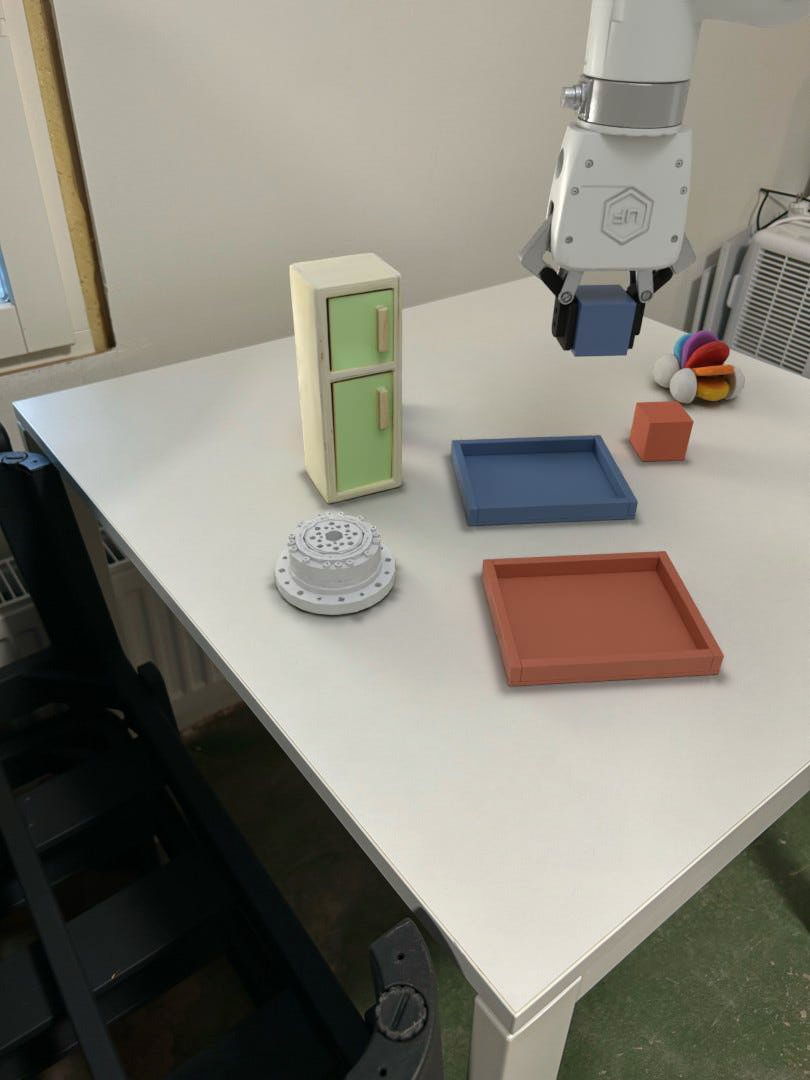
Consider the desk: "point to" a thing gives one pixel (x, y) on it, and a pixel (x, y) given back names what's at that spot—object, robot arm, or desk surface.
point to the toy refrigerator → (349, 372)
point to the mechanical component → (335, 565)
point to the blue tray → (540, 480)
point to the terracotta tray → (596, 619)
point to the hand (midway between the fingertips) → (593, 341)
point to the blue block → (603, 321)
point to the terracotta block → (660, 431)
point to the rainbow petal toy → (699, 369)
